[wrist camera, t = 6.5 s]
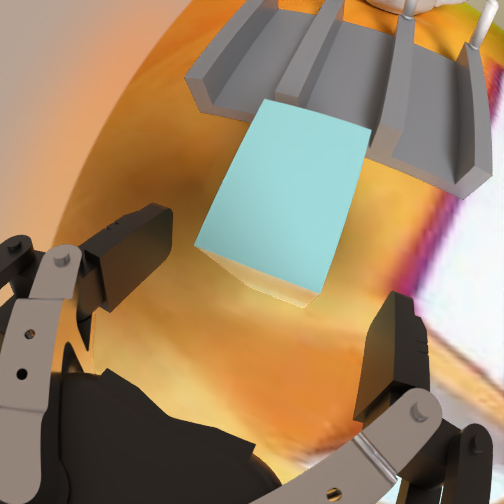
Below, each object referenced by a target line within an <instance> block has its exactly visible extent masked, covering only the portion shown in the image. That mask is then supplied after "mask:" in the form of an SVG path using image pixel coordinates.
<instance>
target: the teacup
mask: <svg viewBox="0 0 504 504" xmlns="http://www.w3.org/2000/svg"><path fill="white" fill-rule="evenodd" d="M366 1H367V2H368V3H370V4H371V5H373V6H375V7H377V8H380V9H382V10H385V11H388V12H391V13H395V14H402V12H403V7H404V3H405V0H366ZM466 1H467V0H418V3H417V6H416V10H415V14H414V15H417V14H419V13H424V12H428V11H430V10H431V9H433V7H440V6H442V5H454V4H461V3H464V2H466Z"/></svg>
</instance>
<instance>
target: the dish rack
mask: <svg viewBox="0 0 504 504" xmlns="http://www.w3.org/2000/svg"><path fill="white" fill-rule="evenodd" d="M344 2H345V0H325V2H324V4H323V5H322V7H321V9H320V11H319V12H318V14H317V15H312V14H307V13H301V12H295V11H288V10H281V9H279V8H278V0H247V1H246V2H245V4H244V5H243V6H242V7H241V8H240V9H239V10H238V11H237V12H236V13H235V14H234V16H233V17H232V18H231V19H230V20H229V21H228V22H227V23H226V25H225V26H224V27H223V28H222V29H221V30H220V32H219V33H218V34H217V35H216V36H215V38H214V39H213V40H212V41H211V43H210V44H209V45H208V46H207V48H206V49H205V50H204V51H203V53H202V54H201V55H200V56H199V58H198V59H197V60H196V62H195V63H194V64H193V66H192V67H191V68H190V70H189V71H188V72H187V74H186V75H185V77H184V78H185V80H186V82H187V85H188V87H189V89H190V91H191V93H192V96H193V98H194V100H195V102H196V104H197V107H198V109H199V111H200V112H202V113H207V114H212V115H217V116H222V117H227V118H231V119H236V120H240V121H245V122H249V123H252V121H253V120H254V118H255V116H256V114H257V112H258V110H259V108H260V106H261V104H262V102H263V100H264V99H267V100H271V101H276V102H280V103H284V104H288V105H292V106H296V107H300V108H303V109H307V110H311V111H314V112H318V113H321V114H324V115H328V116H331V117H334V118H337V119H341V120H344V121H347V122H350V123H353V124H356V125H359V126H362V127H364V128H367V129H370V130H371V134H370V138H369V142H368V146H367V150H366V153H365V158H368V159H371V160H373V161H376V162H379V163H381V164H384V165H386V166H389V167H391V168H394V169H396V170H399V171H401V172H403V173H406V174H408V175H411V176H413V177H415V178H418V179H420V180H422V181H424V182H427V183H429V184H431V185H433V186H435V187H437V188H440V189H442V190H444V191H446V192H448V193H450V194H452V195H454V196H456V197H458V198H460V199H462V200H464V199H465V198H466V197H468V196H469V195H470V194H471V193H472V192H474V191H475V190H476V189H477V188H478V187H480V186H481V185H482V184H483V183H484V182H486V181H487V180H488V179H489V178H490V177H491V176H492V139H491V124H490V113H489V104H488V97H487V90H486V83H485V77H484V72H483V67H482V62H481V57H480V52H479V47H480V45H481V43H482V41H483V39H484V37H485V35H486V33H487V31H488V29H489V27H490V25H491V23H492V21H493V18H494V16H495V14H496V12H497V10H498V7H499V5H498V3H497V1H496V0H487V2H486V5H485V7H484V10H483V12H482V14H481V17H480V19H479V21H478V23H477V26H476V28H475V30H474V32H473V35H472V37H471V39H470V41H469V43H467V42H465V43H464V45H463V47H462V50H461V52H460V54H459V56H458V58H457V60H456V62H455V61H453V60H451V59H448V58H446V57H444V56H442V55H440V54H438V53H435V52H433V51H431V50H428V49H426V48H424V47H421V46H419V45H416V44H414V28H415V19H413V17H414V14H415V10H416V6H417V3H418V0H405V3H404V7H403V12H402V14H399V17H398V21H397V25H396V29H395V33H394V36H392V35H389V34H386V33H383V32H380V31H377V30H374V29H370V28H367V27H363V26H360V25H356V24H353V23H349V22H345V21H343V14H344Z"/></svg>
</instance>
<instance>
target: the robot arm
mask: <svg viewBox="0 0 504 504" xmlns="http://www.w3.org/2000/svg"><path fill="white" fill-rule="evenodd" d="M172 225H173V212H172V210H171V209H170V208H167V207H164V206H161V205H158V204H155V203H151V204H149V205H147V206H146V207H144V208H143V209H141V210H140V211H136V212H133V213H130V214H127V215H124V216H123V217H121V218H120V219H118V220H116V221H115V222H114V223H112V224H110V225H109V226H107V228H106V229H105V228H104V229H103V230H101V231H100V232H99V233H97V234H96V235H94V236H93V237H91V238H90V239H88V240H87V241H86V242H84V243H83V244H81V245H80V246H78V247H76V246H74V245H70V244H64V245H59V246H56V247H53V248H52V249H50V250H49V251H47V252H46V253H45V252H40V251H36V250H34V248H33V245H32V241H31V238H30V237H28V236H26V235H17V236H13V237H11V238H9V239H7V240H6V241H4V242H3V243H1V244H0V289H1V288H2V287H3V286H4V285H6V284H7V283H8V282H9V283H10V285H11V288H12V290H13V293H14V295H13V296H12V297H11V298H10V299H9V300H7V301H6V302H5V303H4V304H3V305H2V306H1V307H0V504H375V503H376V502H378V501H379V500H380V499H381V498H382V497H383V496H384V495H385V494H386V493H387V492H388V491H389V490H390V489H391V488H392V487H393V486H394V485H395V484H396V482H397V480H398V479H397V478H396V475H397V476H399V477H401V478H402V480H401V485H400V489H399V493H398V497H397V501H396V504H439V502H440V496H441V491H442V486H444V487H443V493H442V498H441V503H440V504H489V500H490V491H491V480H492V461H493V443H492V439H491V436H490V434H489V432H488V431H487V430H486V429H485V428H484V427H483V426H482V425H480V424H475V423H474V424H470V425H468V426H467V427H465V428H464V429H463V430H460V429H459V428H457V427H456V426H454V425H452V424H451V423H449V422H448V421H446V420H445V419H443V418H442V409H441V406H440V404H439V402H438V400H437V399H436V397H435V396H434V395H433V394H432V393H430V372H429V355H428V345H427V343H428V340H427V330H426V328H425V326H424V324H423V322H422V319H421V317H418V316H415V314H414V302H413V299H412V298H411V297H408V296H405V295H403V294H400V293H398V292H395V291H392V292H391V293H390V294H389V295H388V297H387V299H386V300H385V302H384V304H383V305H382V307H381V309H380V310H379V312H378V314H377V315H376V317H375V318H374V320H373V322H372V323H371V325H370V328H369V330H368V333H367V336H366V342H365V350H364V357H363V364H362V371H361V377H360V383H359V389H358V395H357V400H356V405H355V410H354V415H353V420H355V421H358V422H362V423H363V428H362V431H361V432H360V433H359V434H358V435H356V436H355V437H354V438H352V439H351V440H350V441H348V442H347V443H346V444H345V445H343V446H342V447H340V448H339V449H338V450H336V451H335V452H334V453H332V454H331V455H329V456H328V457H326V458H325V459H324V460H322V461H321V462H319V463H318V464H316V465H315V466H313V467H312V468H310V469H309V470H307V471H305V472H304V473H302V474H301V475H299V476H297V477H296V478H294V479H293V480H291V481H289V482H288V483H286V484H284V485H282V484H281V482H280V480H279V479H278V477H277V476H276V474H275V473H274V472H273V471H272V470H271V468H270V467H269V466H268V465H267V464H266V463H265V462H263V461H262V460H261V459H260V458H259V457H257V456H256V455H254V454H253V453H252V452H253V450H254V448H255V446H256V444H254V443H251V442H248V441H246V440H243V439H241V438H238V437H236V436H234V435H231V434H229V433H226V432H224V431H222V430H220V429H217V428H215V427H210V426H205V425H201V424H196V423H192V422H188V421H184V420H180V419H176V418H172V417H170V416H168V415H167V414H166V413H165V412H163V411H162V410H161V409H160V408H159V407H158V406H157V405H156V404H155V403H154V402H153V401H152V400H151V399H150V398H149V397H148V396H146V395H145V394H144V393H143V392H142V391H141V390H140V389H139V388H138V387H137V386H135V385H133V384H132V383H130V382H128V381H127V380H125V379H124V378H122V377H120V376H119V375H117V374H116V373H114V372H113V371H111V370H110V369H108V368H107V369H106V370H105V371H104V372H103V373H102V374H101V376H100V375H96V374H95V370H94V366H93V344H94V330H95V319H96V314H95V310H96V309H97V308H98V307H99V306H100V307H101V308H103V309H105V310H106V311H108V312H110V313H111V312H112V311H113V310H114V309H115V308H116V307H117V306H118V305H119V304H120V303H121V302H122V301H123V300H124V299H125V298H126V297H127V296H128V295H129V294H130V293H131V292H132V291H133V290H134V289H135V288H136V287H137V286H138V285H139V284H140V283H141V282H142V281H144V280H145V279H146V278H147V277H148V276H149V275H150V274H151V273H152V272H153V271H154V270H155V269H156V268H157V267H158V266H159V265H161V264H162V263H163V262H164V261H165V260H166V259H167V257H168V255H169V253H170V251H171V247H172Z"/></svg>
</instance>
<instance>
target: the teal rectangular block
mask: <svg viewBox="0 0 504 504" xmlns="http://www.w3.org/2000/svg"><path fill="white" fill-rule="evenodd" d="M370 134H371V130H370V129H367V128H364V127H362V126H359V125H356V124H353V123H350V122H347V121H344V120H341V119H337V118H334V117H331V116H328V115H324V114H321V113H318V112H314V111H311V110H307V109H303V108H300V107H296V106H292V105H288V104H284V103H280V102H276V101H271V100H267V99H264V100H263V102H262V104H261V106H260V108H259V110H258V112H257V114H256V116H255V118H254V120H253V121H252V123H251V125H250V127H249V129H248V131H247V133H246V135H245V137H244V139H243V141H242V143H241V145H240V147H239V149H238V151H237V153H236V155H235V157H234V159H233V161H232V163H231V165H230V167H229V170H228V172H227V174H226V176H225V178H224V180H223V182H222V184H221V186H220V188H219V190H218V193H217V195H216V197H215V199H214V201H213V203H212V205H211V208H210V210H209V212H208V214H207V216H206V219H205V221H204V223H203V225H202V227H201V230H200V232H199V234H198V236H197V239H196V241H195V243H194V246H195V247H196V248H198V249H199V250H200V251H202V252H203V253H204V254H206V255H207V256H208V257H209V258H211V259H212V260H213V261H215V262H216V263H217V264H219V265H220V266H221V267H222V268H224V269H225V270H226V271H228V272H229V273H230V274H232V275H233V276H234V277H236V278H237V279H238V280H240V281H241V282H242V283H244V284H245V285H246V286H248V287H249V288H252V289H254V290H257V291H259V292H262V293H265V294H267V295H270V296H272V297H275V298H277V299H280V300H283V301H285V302H288V303H290V304H293V305H296V306H298V307H301V308H303V309H304V308H305V307H306V306H307V305H308V304H309V303H311V302H312V301H313V300H314V299H315V298H316V297H317V296H318V295H319V294H320V293H321V290H322V287H323V285H324V282H325V279H326V276H327V274H328V271H329V268H330V265H331V262H332V260H333V257H334V254H335V251H336V248H337V245H338V242H339V239H340V236H341V233H342V230H343V227H344V224H345V221H346V218H347V215H348V211H349V208H350V205H351V202H352V198H353V195H354V192H355V189H356V185H357V182H358V178H359V175H360V171H361V168H362V164H363V161H364V157H365V153H366V150H367V146H368V142H369V138H370Z"/></svg>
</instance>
